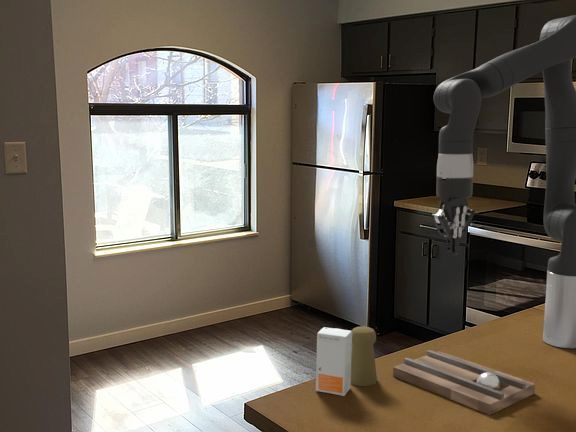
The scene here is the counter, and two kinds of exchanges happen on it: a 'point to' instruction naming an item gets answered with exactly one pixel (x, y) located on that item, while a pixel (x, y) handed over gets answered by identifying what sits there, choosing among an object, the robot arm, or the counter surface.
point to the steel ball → (489, 380)
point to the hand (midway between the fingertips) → (452, 254)
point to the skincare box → (333, 361)
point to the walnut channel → (462, 381)
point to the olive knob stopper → (363, 357)
